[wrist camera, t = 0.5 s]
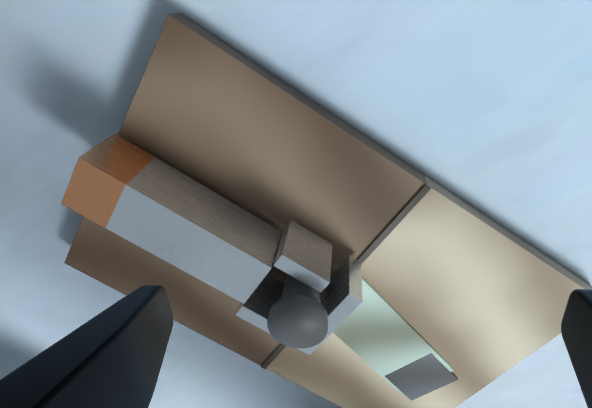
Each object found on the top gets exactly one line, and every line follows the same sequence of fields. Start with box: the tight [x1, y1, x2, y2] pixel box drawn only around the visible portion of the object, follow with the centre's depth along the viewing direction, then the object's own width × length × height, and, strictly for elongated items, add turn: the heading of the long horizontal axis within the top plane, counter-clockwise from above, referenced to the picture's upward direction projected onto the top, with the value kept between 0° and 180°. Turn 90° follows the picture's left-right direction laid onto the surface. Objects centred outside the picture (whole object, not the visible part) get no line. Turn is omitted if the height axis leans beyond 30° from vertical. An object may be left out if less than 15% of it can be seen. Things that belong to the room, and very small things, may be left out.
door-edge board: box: [65, 13, 592, 408], centre depth 21 cm, size 15×24×6 cm, turn 58°
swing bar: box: [62, 134, 363, 355], centre depth 19 cm, size 13×4×3 cm, turn 58°
